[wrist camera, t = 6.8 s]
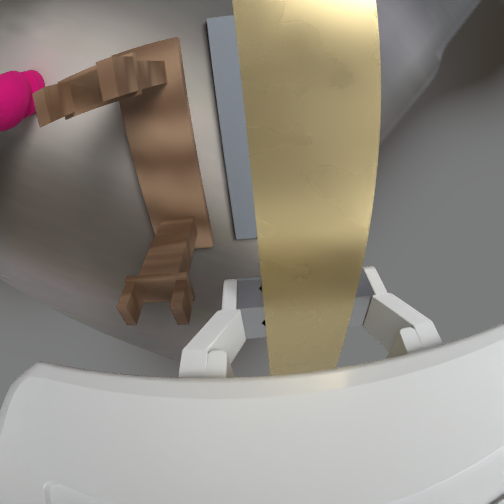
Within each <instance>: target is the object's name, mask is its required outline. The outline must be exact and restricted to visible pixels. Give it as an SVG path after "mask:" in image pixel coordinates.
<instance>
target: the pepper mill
mask: <svg viewBox="0 0 504 504" xmlns="http://www.w3.org/2000/svg"><path fill="white" fill-rule="evenodd" d="M44 87H45V84H44V80H43V78H42V76H41V75H40V74H39V73H38V72H37V71H35V70H29V71H24V72H21V73H20V72H17V71H9V72H6V73H4V74H1V75H0V131H6V130H8V129H11V128H13V127H15V126H16V125H18V124H19V123H20V122H21V120H22V119H23V118H26V117H28V116H30V115H32V114H34V113H35V112H36V109H35V104H34V100H33V93H35V92H36V91H38V90H40V89H42V88H44Z"/></svg>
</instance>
